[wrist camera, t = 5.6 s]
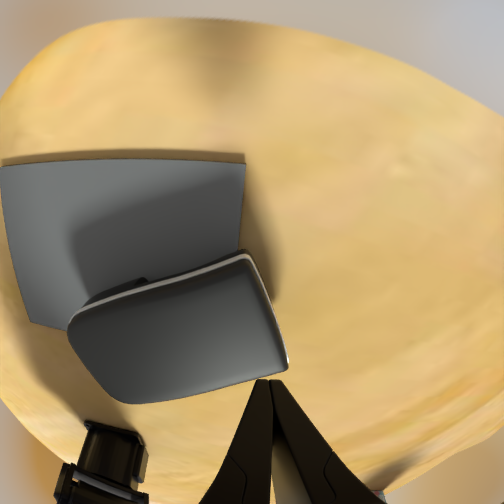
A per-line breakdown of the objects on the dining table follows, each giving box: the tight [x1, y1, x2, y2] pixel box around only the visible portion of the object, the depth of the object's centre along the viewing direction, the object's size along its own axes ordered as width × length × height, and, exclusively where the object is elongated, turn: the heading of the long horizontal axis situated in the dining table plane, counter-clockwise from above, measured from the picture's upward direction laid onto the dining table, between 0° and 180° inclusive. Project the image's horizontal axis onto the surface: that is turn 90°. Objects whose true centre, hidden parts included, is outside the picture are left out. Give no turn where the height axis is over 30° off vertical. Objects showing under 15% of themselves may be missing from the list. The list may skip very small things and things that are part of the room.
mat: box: [0, 159, 246, 331], centre depth 15 cm, size 16×12×1 cm
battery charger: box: [67, 249, 289, 404], centre depth 15 cm, size 7×4×11 cm
